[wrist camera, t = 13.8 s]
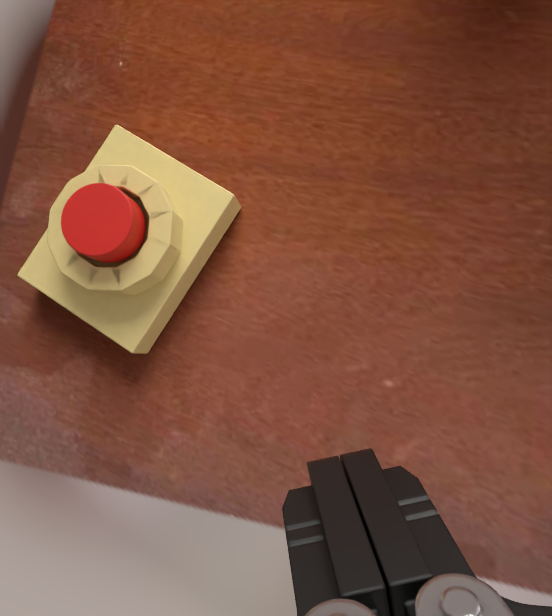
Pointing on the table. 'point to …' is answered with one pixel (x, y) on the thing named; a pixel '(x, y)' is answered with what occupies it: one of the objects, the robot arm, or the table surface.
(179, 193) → the button block
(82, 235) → the button
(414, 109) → the table surface
